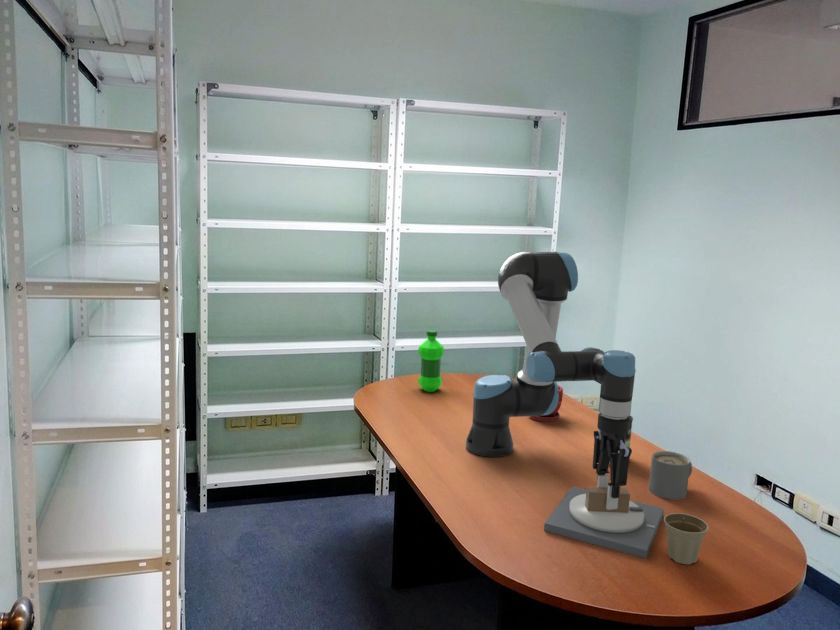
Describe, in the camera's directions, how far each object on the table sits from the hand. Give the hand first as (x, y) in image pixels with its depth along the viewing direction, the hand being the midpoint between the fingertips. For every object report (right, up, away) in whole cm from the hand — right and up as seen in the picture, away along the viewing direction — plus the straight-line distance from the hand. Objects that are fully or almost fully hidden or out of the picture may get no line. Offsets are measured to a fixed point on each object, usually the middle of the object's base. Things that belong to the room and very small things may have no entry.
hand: (606, 503), depth 163 cm
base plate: (0, -5, +1) cm, 5 cm away
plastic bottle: (-42, +16, +109) cm, 118 cm away
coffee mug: (+24, -2, +20) cm, 32 cm away
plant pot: (-1, +9, +79) cm, 79 cm away
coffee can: (+14, +2, +42) cm, 44 cm away
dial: (0, -3, +1) cm, 3 cm away
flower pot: (+13, -8, -14) cm, 21 cm away
